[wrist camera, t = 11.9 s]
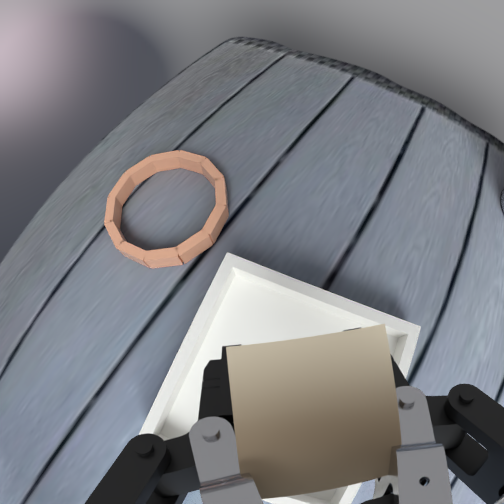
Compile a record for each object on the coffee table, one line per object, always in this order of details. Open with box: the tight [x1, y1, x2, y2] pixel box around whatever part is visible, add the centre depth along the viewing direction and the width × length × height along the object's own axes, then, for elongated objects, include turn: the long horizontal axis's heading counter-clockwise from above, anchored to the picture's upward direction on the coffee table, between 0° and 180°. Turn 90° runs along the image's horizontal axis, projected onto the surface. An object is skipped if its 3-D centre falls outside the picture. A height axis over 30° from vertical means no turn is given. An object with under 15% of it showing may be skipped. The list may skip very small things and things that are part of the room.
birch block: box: [226, 324, 402, 499], centre depth 11 cm, size 4×4×9 cm
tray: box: [139, 252, 421, 504], centre depth 24 cm, size 18×18×3 cm
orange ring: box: [104, 150, 229, 268], centre depth 32 cm, size 13×13×2 cm
